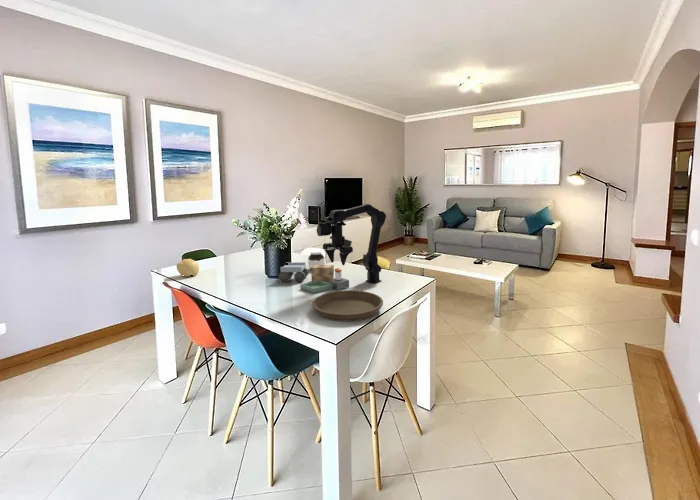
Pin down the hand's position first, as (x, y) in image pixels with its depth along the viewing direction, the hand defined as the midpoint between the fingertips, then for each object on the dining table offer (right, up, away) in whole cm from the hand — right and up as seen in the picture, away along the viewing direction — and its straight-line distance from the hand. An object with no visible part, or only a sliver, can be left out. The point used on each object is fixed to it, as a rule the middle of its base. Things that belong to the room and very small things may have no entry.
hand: (337, 263), depth 195 cm
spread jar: (-15, -6, +43) cm, 45 cm away
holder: (0, -13, +2) cm, 13 cm away
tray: (-11, -13, 0) cm, 17 cm away
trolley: (-26, -10, +20) cm, 34 cm away
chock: (-9, -11, +14) cm, 20 cm away
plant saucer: (+5, -20, -32) cm, 38 cm away
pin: (0, -13, +2) cm, 13 cm away
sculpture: (-94, -9, +35) cm, 100 cm away
